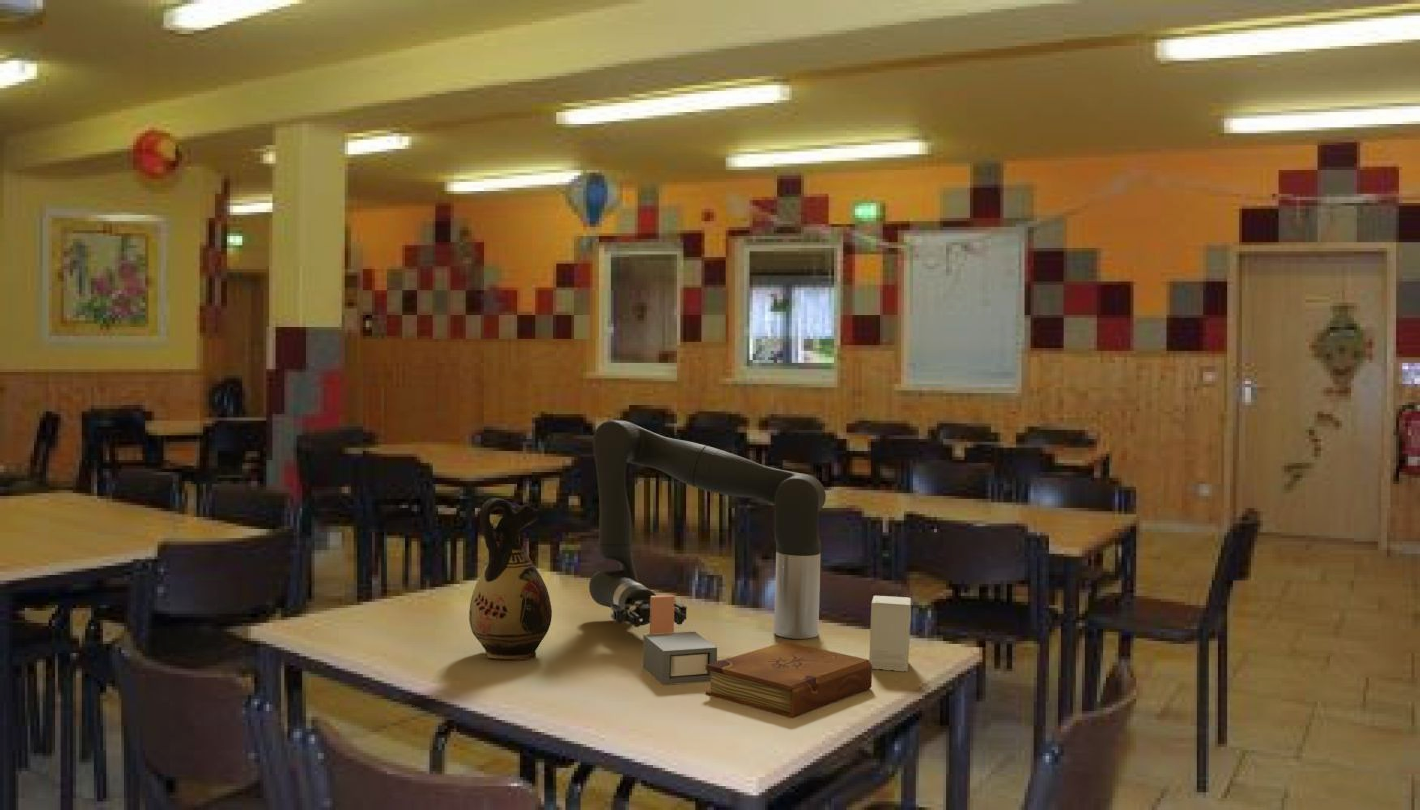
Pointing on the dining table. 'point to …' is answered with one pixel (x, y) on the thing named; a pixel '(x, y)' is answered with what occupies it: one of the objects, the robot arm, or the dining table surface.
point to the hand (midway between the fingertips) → (659, 620)
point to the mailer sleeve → (668, 644)
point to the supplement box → (890, 633)
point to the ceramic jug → (509, 589)
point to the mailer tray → (665, 624)
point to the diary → (789, 678)
